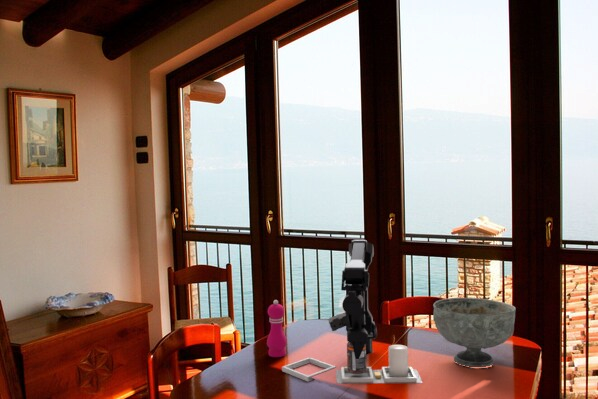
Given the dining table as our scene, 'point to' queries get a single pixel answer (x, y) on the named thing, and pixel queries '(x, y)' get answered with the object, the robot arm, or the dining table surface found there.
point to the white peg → (398, 361)
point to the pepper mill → (276, 331)
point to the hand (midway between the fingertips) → (356, 355)
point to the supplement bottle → (356, 360)
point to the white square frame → (289, 367)
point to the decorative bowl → (474, 326)
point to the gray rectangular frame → (376, 376)
